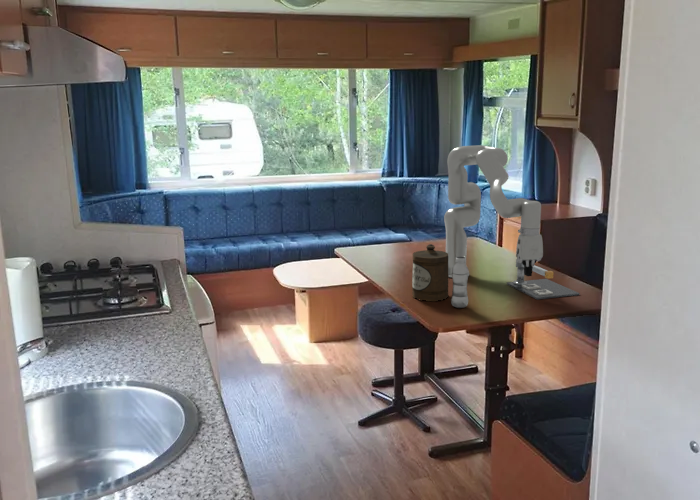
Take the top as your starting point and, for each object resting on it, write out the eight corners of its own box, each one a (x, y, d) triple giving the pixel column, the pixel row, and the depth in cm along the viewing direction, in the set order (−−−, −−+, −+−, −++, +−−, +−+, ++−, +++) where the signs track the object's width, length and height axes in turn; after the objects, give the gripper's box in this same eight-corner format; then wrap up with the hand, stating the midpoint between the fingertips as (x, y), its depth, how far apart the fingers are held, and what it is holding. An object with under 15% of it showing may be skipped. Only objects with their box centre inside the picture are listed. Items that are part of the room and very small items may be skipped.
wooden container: (406, 293, 269) (406, 242, 264) (437, 289, 274) (438, 239, 270) (422, 303, 256) (423, 249, 251) (454, 299, 261) (456, 246, 256)
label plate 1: (528, 289, 270) (528, 287, 270) (521, 286, 275) (521, 284, 275) (540, 288, 272) (540, 286, 272) (534, 285, 277) (534, 283, 276)
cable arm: (513, 265, 280) (514, 259, 279) (522, 265, 281) (523, 258, 280) (545, 279, 257) (545, 272, 256) (555, 278, 258) (555, 271, 257)
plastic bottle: (464, 310, 246) (465, 260, 242) (448, 307, 250) (449, 258, 245) (470, 306, 251) (472, 256, 247) (454, 303, 255) (455, 254, 250)
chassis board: (536, 299, 259) (537, 297, 259) (506, 284, 281) (506, 282, 281) (579, 295, 264) (579, 293, 264) (546, 280, 287) (546, 278, 287)
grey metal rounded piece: (517, 285, 276) (518, 270, 275) (510, 282, 282) (511, 266, 280) (530, 284, 278) (530, 268, 276) (522, 281, 283) (523, 265, 282)
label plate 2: (540, 295, 262) (540, 293, 262) (533, 292, 267) (533, 290, 266) (552, 293, 264) (552, 292, 263) (545, 290, 268) (545, 289, 268)
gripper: (518, 234, 253) (516, 279, 257) (551, 232, 257) (549, 276, 261) (508, 231, 260) (506, 274, 264) (541, 228, 264) (538, 271, 268)
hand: (527, 275), depth 262 cm, fingers closed
